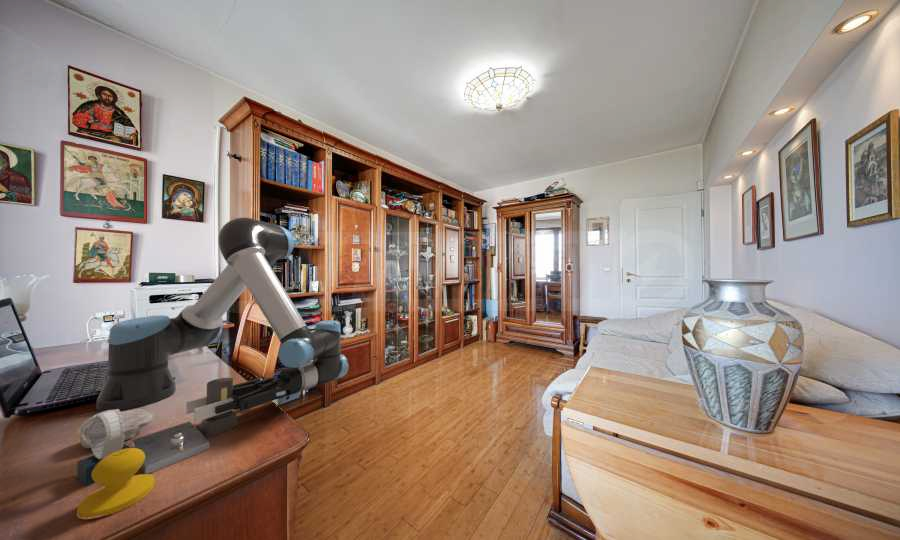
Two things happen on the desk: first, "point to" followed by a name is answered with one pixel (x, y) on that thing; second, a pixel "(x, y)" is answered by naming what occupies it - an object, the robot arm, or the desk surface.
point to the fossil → (128, 424)
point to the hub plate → (170, 446)
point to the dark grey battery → (216, 393)
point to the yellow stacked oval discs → (117, 483)
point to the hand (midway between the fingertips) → (190, 411)
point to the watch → (96, 431)
